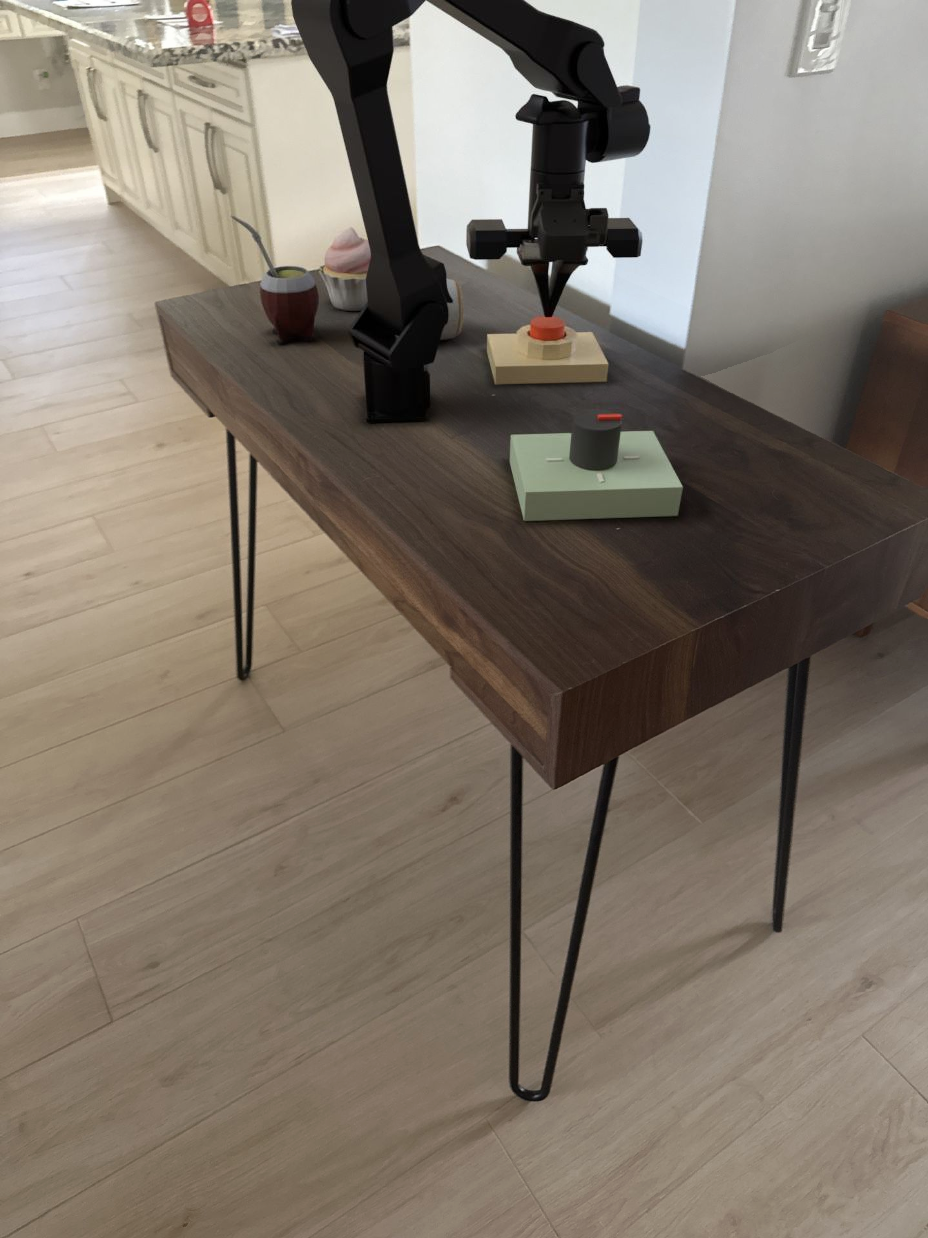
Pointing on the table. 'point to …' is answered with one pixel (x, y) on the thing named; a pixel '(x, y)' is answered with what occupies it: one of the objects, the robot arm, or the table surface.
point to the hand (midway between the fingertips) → (547, 316)
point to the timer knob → (595, 439)
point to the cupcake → (347, 271)
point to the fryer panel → (593, 479)
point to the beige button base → (546, 358)
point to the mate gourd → (287, 297)
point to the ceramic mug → (454, 311)
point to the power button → (547, 328)
